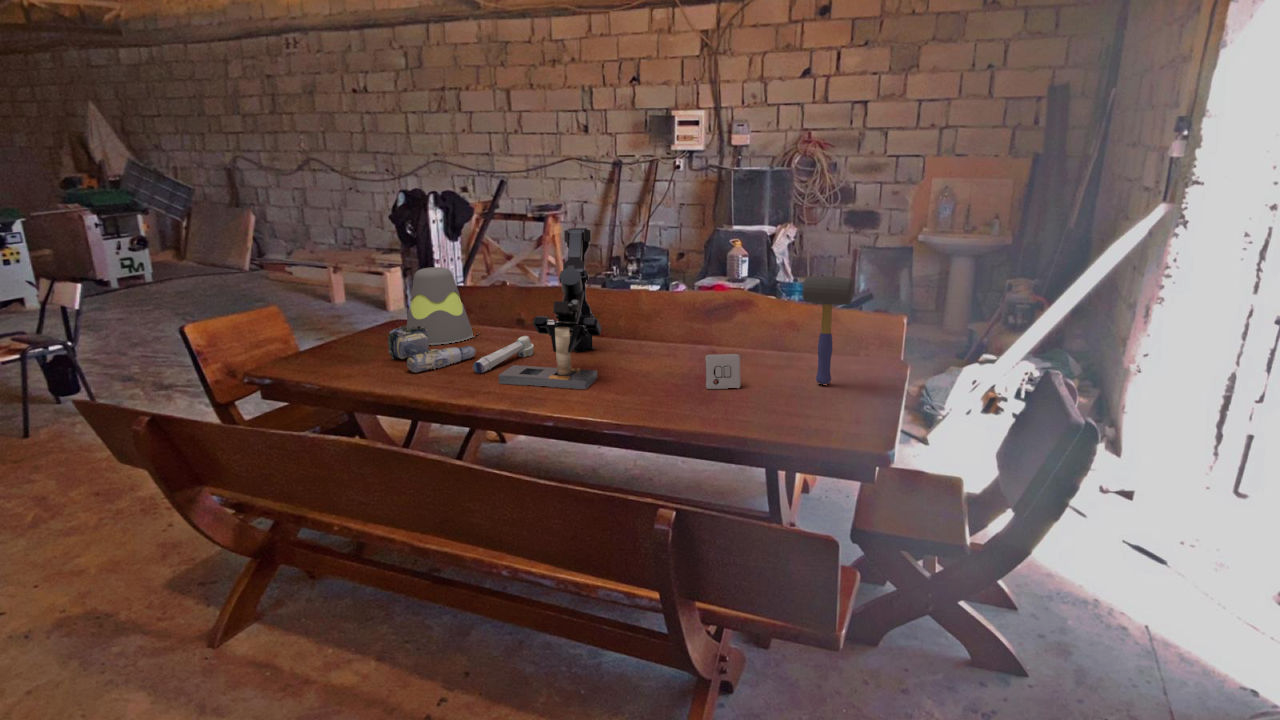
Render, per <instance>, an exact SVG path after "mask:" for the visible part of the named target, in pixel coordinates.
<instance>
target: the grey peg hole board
mask: <svg viewBox="0 0 1280 720" xmlns="http://www.w3.org/2000/svg"><path fill="white" fill-rule="evenodd" d="M596 379H597V380H598V370H595V369H583V368H582V369H581V368H579V367H578V368H577V367H571V374H569V375H559V374H557V367H550V366H549V367H548V366H533V365H516V364H513V365H510V367H508V368H507V369H505V370H504V371H502V372H501V373H499V374H498V384H500V385H517V386H527V385H531V386H530V387H541V386H546V387H545V388H555V387H558V388H557V389H569V388H573V389H572V390H583V389H586V390H587V389H588V388H589V387H591V385H593V384H594V383H595V382H596ZM532 385H534V386H532ZM547 386H548V387H547Z"/></svg>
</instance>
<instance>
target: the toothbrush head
mask: <svg viewBox="0 0 1280 720" xmlns="http://www.w3.org/2000/svg"><path fill="white" fill-rule="evenodd" d="M531 342H532V341H531V339H530V337H529V335H523V336H520V337H519V338H518V339H517V340H516V341H515V342H513V343H511V344H509V345H507V346H504V347H503V348H500V349H498V350H496V351H494V352H491V353H490V354H487V355H485V356H481V357H480V358H479V359H478V360H477V361H474V363H473V364H472V369H473V371H474V372H475V373H476V374H480V373H481V374H483V373H485V372H488V370H489V371H491V369H492V368H494V367H495V366H497V365H499V364H501V363H502V362H504V361H505V360H507V359H509V358H510V357H512V356H514V355H516V354H517V356H518V357H519V358H526V357H531V356H533V355H534V352H535V351H534V348H535V345H534V343H531ZM481 374H480V375H481Z"/></svg>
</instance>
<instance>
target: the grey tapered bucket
mask: <svg viewBox="0 0 1280 720" xmlns="http://www.w3.org/2000/svg"><path fill="white" fill-rule="evenodd" d="M457 286H458V285H457V284H456V281H455V278H454V276H453V273H452V271H451V270H450V269H449V268H447V267H439V266H438V267H437V266H436V267H435V266H433V267H425V268H424V267H423V268H420V269H419V270H417V271H416V272H415V273H414V276H413V282H412V289H411V296H410V306H409V308H408V315H407V322H406V327H407V328H408V329H412V328H413V327H414V326H425V327H426V328H425V329H427V334H428V337H429V345H431V346H442V345H441V344H444V345H450V344H449V343H452V344H456V343H455V342H458V343H461V342H460V341H462V342H465V341H464V340H466V341H468V340H467V339H469V340H471V339H470V338H472V337H474V338H476V337H475V336H473V331H472V328H473V327H472V325H471V322H470V320H469V317H468V314H467V311H466V309H465V306H464V303H463V302H462V301H461V300H462V299H461V294H460V292H459V289H458V287H457ZM477 335H478V334H477ZM478 336H479V335H478ZM472 339H473V338H472Z"/></svg>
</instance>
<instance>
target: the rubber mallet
mask: <svg viewBox="0 0 1280 720" xmlns="http://www.w3.org/2000/svg"><path fill="white" fill-rule="evenodd" d="M853 294H854V281H853V279H852V278H848V277H839V276H832V275H831V276H830V275H829V276H828V275H815V276H811V275H810V276H806V277H805V278H804V281H803V287H802V299H803V301H804V302H806V303H812V304H819V305H820V304H821V305H822V311H821V328H820V333H819V337H818V344H817V358H818V363H817V373H816V375H815V381H816V383H817V384H818V383H820V384H828V383H829V384H831V381H832V376H831V375H832V374H831V364H832V363H831V361H832V354H833V335H832V320H833V319H832V315H833V305H836V306H837V305H840V306H841V305H842V306H843V305H850V304H851V303H852V300H853V297H854V296H853Z"/></svg>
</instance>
